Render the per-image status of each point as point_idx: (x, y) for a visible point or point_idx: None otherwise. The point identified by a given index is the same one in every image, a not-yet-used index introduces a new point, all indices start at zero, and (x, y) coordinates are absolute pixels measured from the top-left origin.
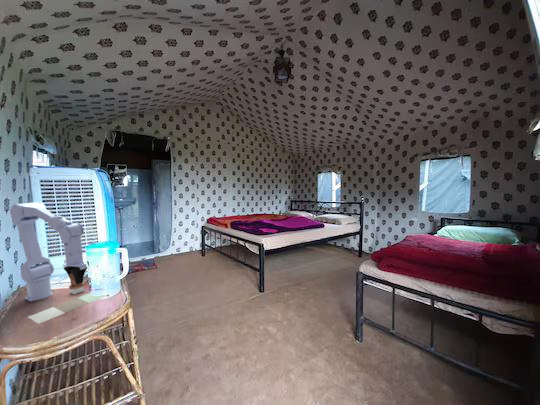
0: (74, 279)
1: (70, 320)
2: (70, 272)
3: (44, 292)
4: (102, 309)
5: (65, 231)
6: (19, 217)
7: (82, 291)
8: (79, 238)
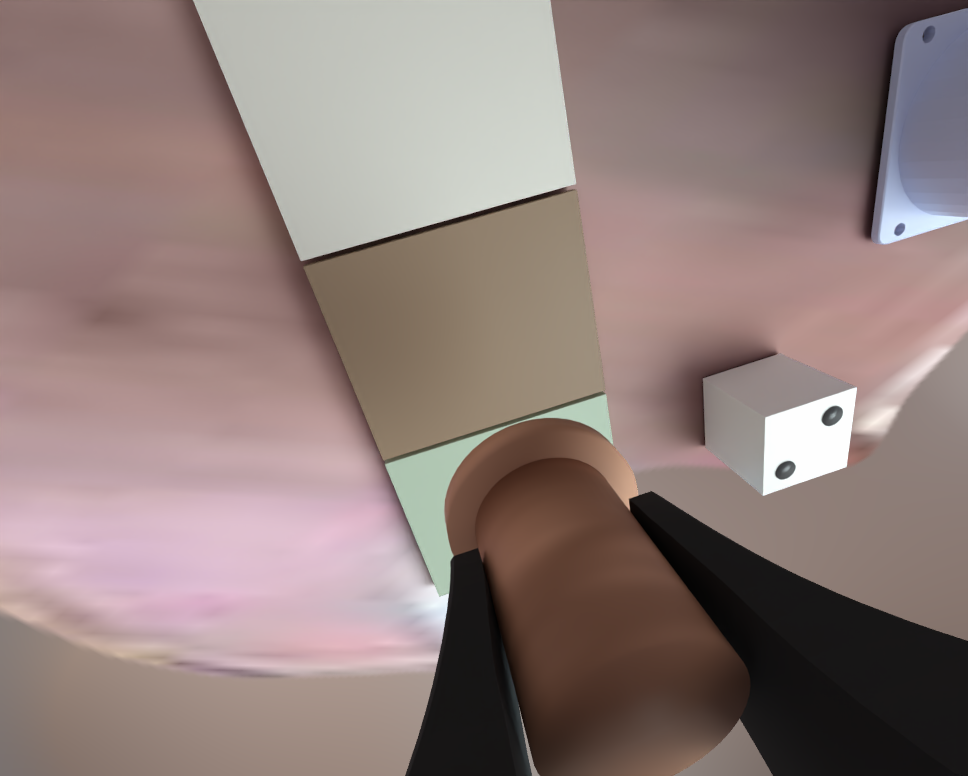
0: (515, 607)
1: (92, 281)
2: (778, 671)
3: None
4: (170, 531)
5: None
6: None
7: (712, 441)
8: None
